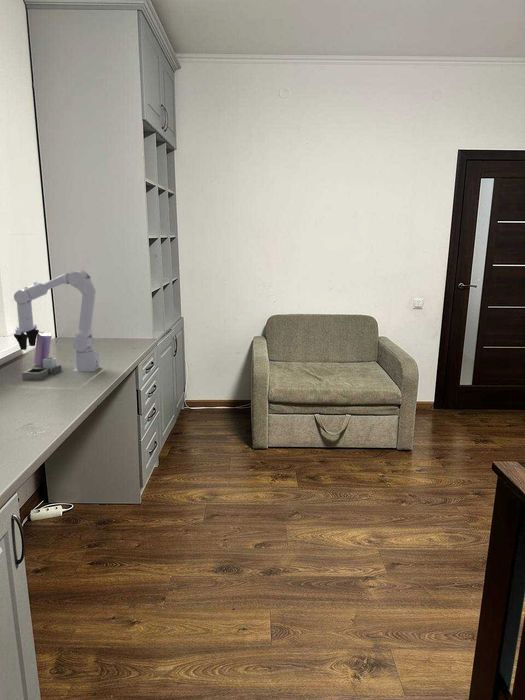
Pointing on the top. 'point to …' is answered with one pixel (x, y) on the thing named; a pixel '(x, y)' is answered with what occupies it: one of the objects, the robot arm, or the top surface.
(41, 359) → the beverage can
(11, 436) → the top surface
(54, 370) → the holster
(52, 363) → the plug
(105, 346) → the top surface
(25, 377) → the port
